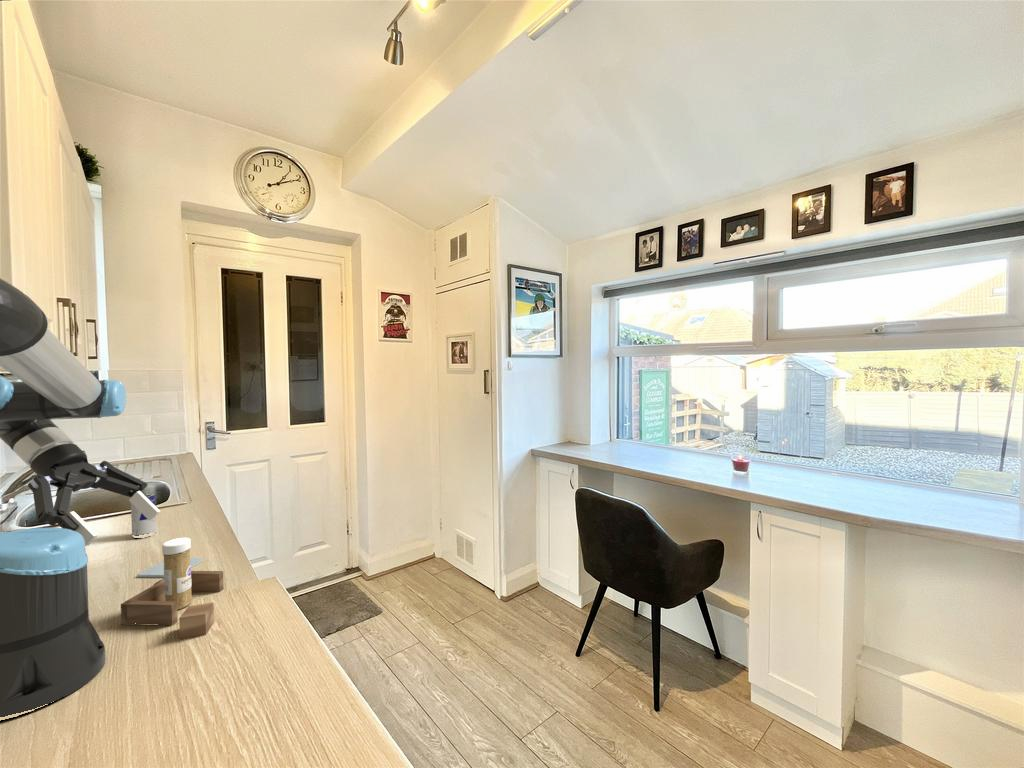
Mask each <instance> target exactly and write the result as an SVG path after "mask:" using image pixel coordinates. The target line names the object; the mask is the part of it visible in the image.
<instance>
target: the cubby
mask: <svg viewBox="0 0 1024 768" xmlns="http://www.w3.org/2000/svg"><path fill="white" fill-rule="evenodd" d="M161 580H162V579H161ZM159 581H160V580H159ZM191 582H192V586H191V593H192V592H196V593H199V592H202V593H204V592H205V593H207V592H209V593H210V592H212V593H214V592H215V593H219V592H220V593H221V592H222V591H223V590H224V589H225V588H224V587H225V586H224V585H225V584H224V570H191ZM154 584H155V583H154ZM154 584H153V585H151V586H150V587H149V588H147V589H145V590H143V591H142V592H141V591H140V593H137V594H135V595H134V596H132V597H131V598H129V599H127V600H125V601H123V602H122V603H121V604H120V625H121V624H135V623H136V624H158V625H157V626H162V625H172V626H174V625H176V624H177V623H178V622H179V619H178V610H177V601H165V592H164V580H162V581H160V582H159V583H157V584H155V585H154ZM177 621H178V622H177ZM176 622H177V623H176Z"/></svg>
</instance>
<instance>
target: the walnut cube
mask: <svg viewBox="0 0 1024 768" xmlns="http://www.w3.org/2000/svg"><path fill="white" fill-rule="evenodd" d="M214 605H215V603H214V602H206V603H200V604H193V605H188V606H187V608H186V609H185V610H184V612H183V613H182V614H181V615H180V616H179V617H178V623H179V639H180V640H184V639H190V638H195V637H201V636H202V637H203V636H207V634H208V632H209V631H210V629H212V627H213V625H214V624H215V606H214Z"/></svg>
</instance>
